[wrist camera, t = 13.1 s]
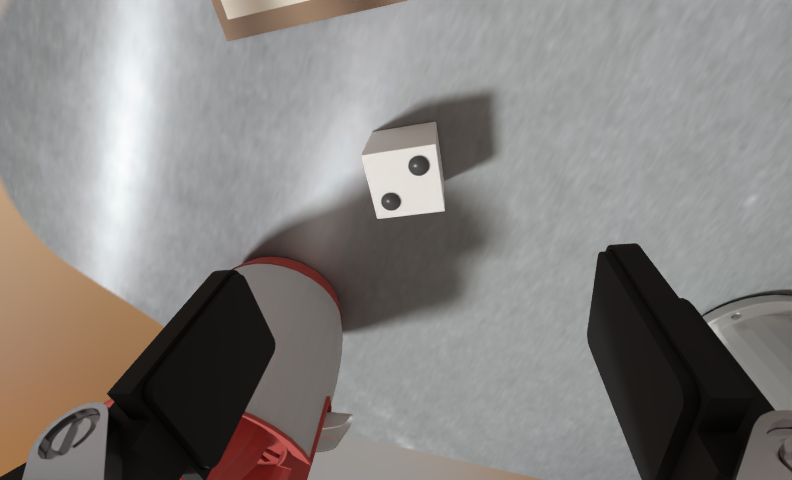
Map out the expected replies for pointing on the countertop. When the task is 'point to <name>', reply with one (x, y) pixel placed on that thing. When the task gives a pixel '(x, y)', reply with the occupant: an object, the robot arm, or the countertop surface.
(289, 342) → the citrus juicer
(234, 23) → the brown flat rectangular frame
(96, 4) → the countertop surface
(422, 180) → the die
